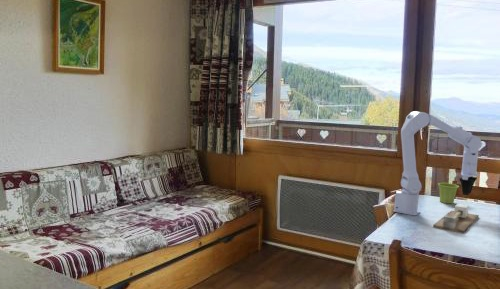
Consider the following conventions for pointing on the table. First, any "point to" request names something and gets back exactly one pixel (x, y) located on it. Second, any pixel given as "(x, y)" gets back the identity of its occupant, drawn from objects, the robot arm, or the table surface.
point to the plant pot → (447, 192)
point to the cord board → (456, 222)
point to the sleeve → (461, 208)
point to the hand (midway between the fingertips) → (466, 193)
